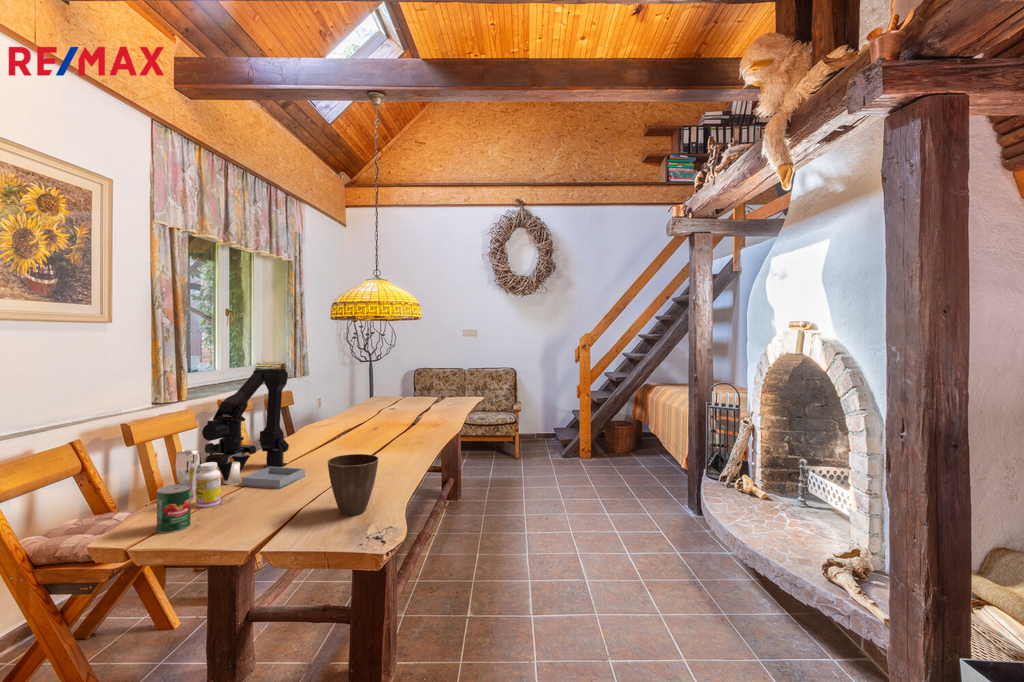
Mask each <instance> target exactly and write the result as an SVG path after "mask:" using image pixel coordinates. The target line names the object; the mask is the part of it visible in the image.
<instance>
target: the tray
mask: <svg viewBox="0 0 1024 682" xmlns="http://www.w3.org/2000/svg"><path fill="white" fill-rule="evenodd" d="M305 477H306V469H305V468H302V467H301V468H300V467H299V468H298V467H285V466H282V467H271V466H269V467H267V468H265V467H263V468H262V469H259V470H256V471H254V472H252V473H250V474H247V475H244V476H241V487H249V488H250V487H251V488H265V489H277V490H280V489H283V488H284V487H287V486H288V485H291V484H293V483H295V482H298V481H299V480H301V479H303V478H305Z"/></svg>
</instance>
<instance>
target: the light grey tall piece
mask: <svg viewBox="0 0 1024 682" xmlns="http://www.w3.org/2000/svg"><path fill="white" fill-rule="evenodd" d="M175 456H176V457H175V474H176V475H175V476H176V479H177V484H188V485H191V499H192V500H196V499H195V498H196V476H197V474H198V473H199V472H201V470H200V464H202V456H201V450H199V449H188V450H187V449H186V450H181V451H178V452H176V455H175Z"/></svg>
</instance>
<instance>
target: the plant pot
mask: <svg viewBox="0 0 1024 682" xmlns="http://www.w3.org/2000/svg"><path fill="white" fill-rule="evenodd" d="M378 465H379V457H378V456H376V455H373V454H367V453H365V454H364V453H361V454H360V453H353V454H343V455H338V456H335V457H331V458H330V459H328V460H327V469H328V475H329V481H330V486H331V490H332V493H333V497H334V499H335V502H336V505H337V509H338V510H339V513H340V514H341V515H342V516H357V515H361V514H363V513H365V512H366V510H367V507H368V504H369V501H370V499H371V495H372V493H373V489H374V484H375V482H376V476H377V472H378V471H377V470H378Z"/></svg>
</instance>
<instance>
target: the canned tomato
mask: <svg viewBox="0 0 1024 682" xmlns="http://www.w3.org/2000/svg"><path fill="white" fill-rule="evenodd" d="M191 502H192V500H191V485H188V484H178V483H176V484H170V485H165V486H162V487H160V488H158V489H156V533H159V534H171V533H172V532H173V533H176V532H175V531H178V532H180V531H179V530H181V531H183V530H182V529H184V530H186V529H188V528H190V527H191V519H192V517H191V516H192V515H191V514H192V513H191V512H192V511H191V510H192V509H191V507H192V506H191V505H192V504H191ZM187 527H188V528H187ZM185 528H186V529H185Z"/></svg>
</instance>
